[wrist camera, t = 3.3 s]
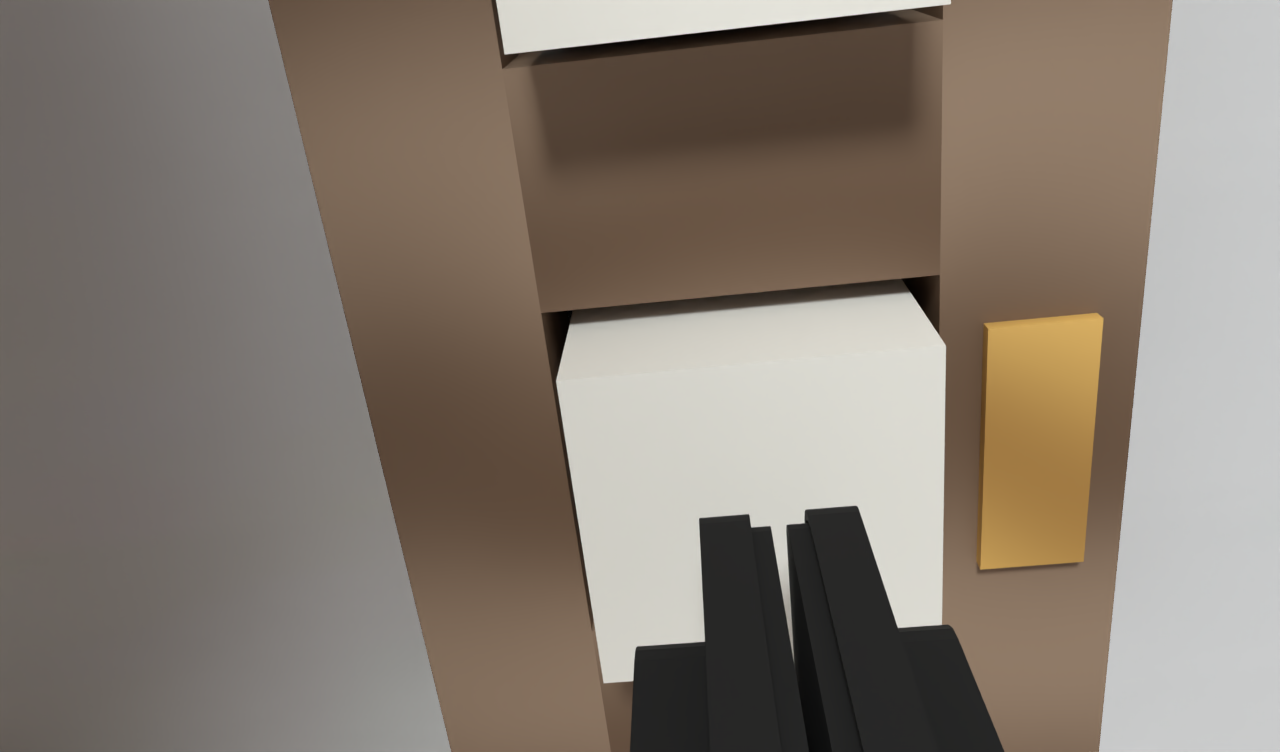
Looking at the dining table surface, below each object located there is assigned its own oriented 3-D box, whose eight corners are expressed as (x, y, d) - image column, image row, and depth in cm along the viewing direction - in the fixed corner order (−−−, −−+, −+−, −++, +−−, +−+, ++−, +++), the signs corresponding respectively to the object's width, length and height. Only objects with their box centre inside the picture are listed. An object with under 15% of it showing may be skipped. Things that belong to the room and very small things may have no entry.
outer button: (574, 305, 14) (556, 381, 12) (898, 274, 14) (945, 345, 11) (612, 571, 16) (603, 683, 13) (900, 549, 15) (941, 659, 13)
